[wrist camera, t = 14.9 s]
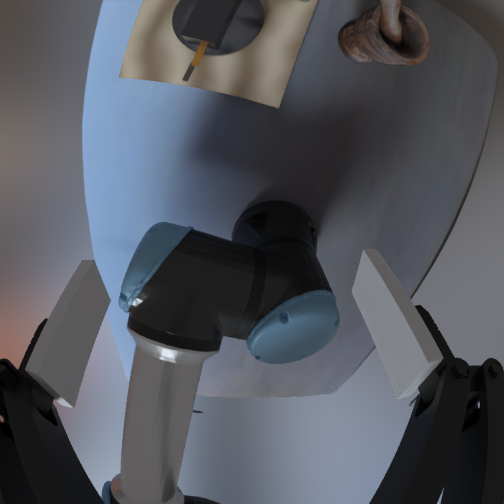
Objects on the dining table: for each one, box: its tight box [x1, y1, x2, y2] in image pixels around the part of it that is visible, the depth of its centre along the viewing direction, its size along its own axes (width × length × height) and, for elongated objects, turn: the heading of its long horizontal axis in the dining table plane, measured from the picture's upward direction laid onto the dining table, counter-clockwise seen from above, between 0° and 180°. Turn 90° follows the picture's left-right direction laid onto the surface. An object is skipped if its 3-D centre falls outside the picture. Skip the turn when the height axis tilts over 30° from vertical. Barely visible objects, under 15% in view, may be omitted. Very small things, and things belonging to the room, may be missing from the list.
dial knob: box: [172, 0, 264, 67], centre depth 23 cm, size 14×12×8 cm
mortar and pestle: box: [338, 0, 430, 65], centre depth 21 cm, size 12×9×20 cm
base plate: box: [119, 0, 318, 109], centre depth 26 cm, size 24×22×4 cm
